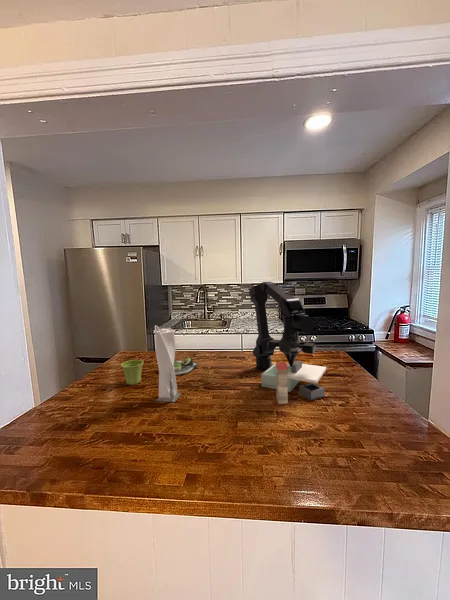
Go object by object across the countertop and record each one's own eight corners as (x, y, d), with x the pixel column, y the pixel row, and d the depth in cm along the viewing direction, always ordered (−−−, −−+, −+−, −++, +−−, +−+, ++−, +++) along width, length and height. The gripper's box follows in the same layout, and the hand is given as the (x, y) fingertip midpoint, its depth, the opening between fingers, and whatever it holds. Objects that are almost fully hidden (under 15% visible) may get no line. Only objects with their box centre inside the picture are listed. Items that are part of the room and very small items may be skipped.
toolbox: (261, 386, 117) (261, 374, 116) (276, 373, 130) (275, 362, 130) (290, 391, 110) (290, 379, 110) (302, 377, 124) (302, 366, 123)
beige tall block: (276, 399, 104) (275, 362, 103) (285, 399, 104) (284, 362, 103) (278, 403, 101) (278, 365, 99) (287, 403, 101) (287, 365, 100)
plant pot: (145, 384, 123) (144, 364, 122) (122, 388, 120) (121, 368, 119) (143, 376, 132) (142, 358, 131) (121, 380, 129) (120, 361, 128)
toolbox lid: (285, 377, 111) (285, 369, 110) (297, 365, 124) (297, 357, 124) (316, 383, 105) (316, 374, 104) (326, 369, 118) (326, 361, 118)
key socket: (299, 393, 109) (299, 385, 108) (312, 390, 111) (312, 382, 111) (311, 400, 103) (310, 392, 102) (324, 396, 105) (324, 388, 105)
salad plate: (183, 380, 127) (183, 370, 126) (149, 376, 133) (149, 366, 133) (202, 366, 145) (201, 357, 144) (171, 363, 151) (171, 354, 151)
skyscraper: (153, 400, 107) (148, 327, 104) (162, 391, 115) (158, 323, 112) (174, 402, 105) (169, 327, 102) (182, 392, 113) (178, 323, 110)
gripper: (261, 331, 113) (262, 369, 115) (308, 335, 103) (308, 377, 105) (272, 326, 123) (272, 361, 124) (316, 329, 113) (316, 367, 115)
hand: (291, 366), depth 117 cm, fingers closed
